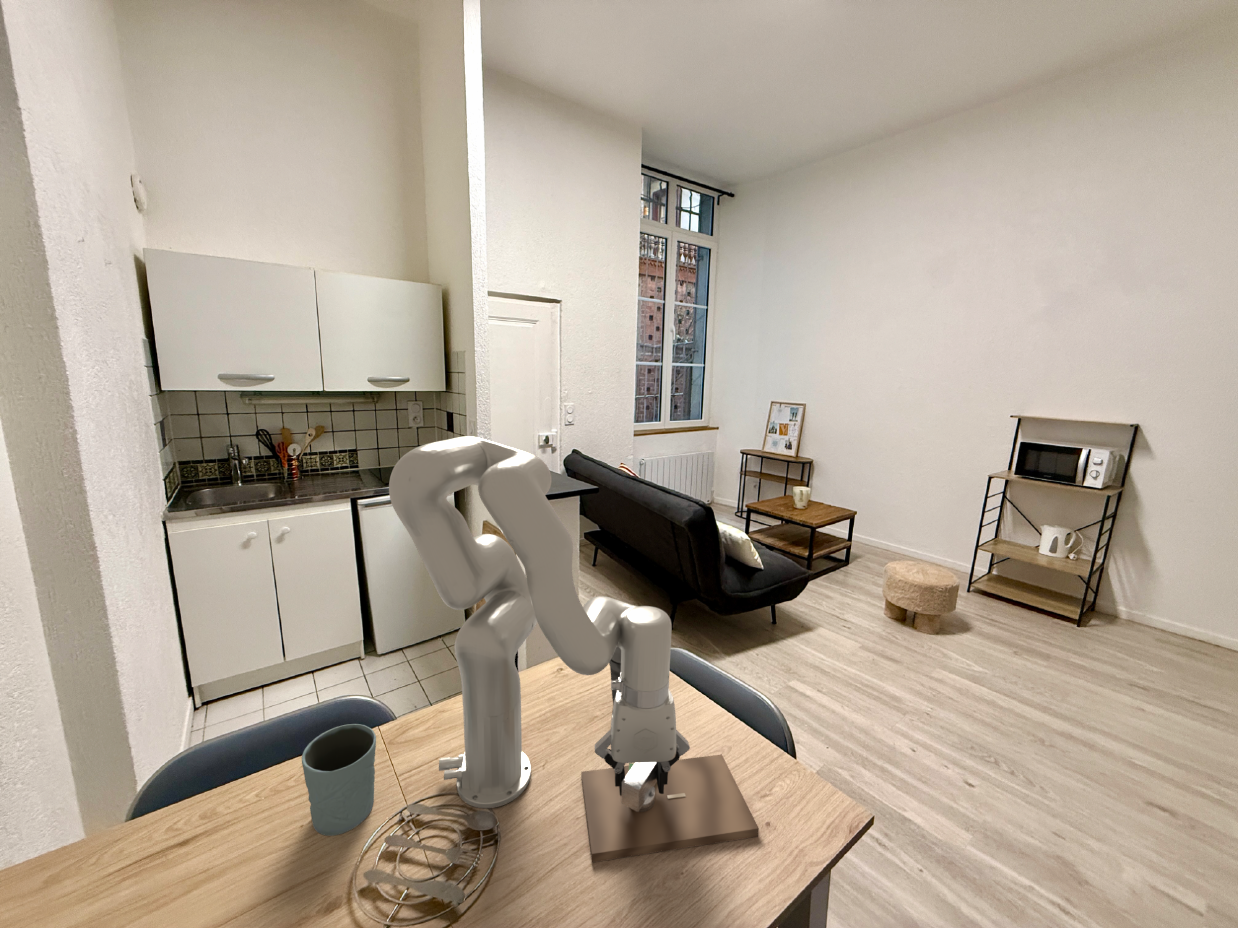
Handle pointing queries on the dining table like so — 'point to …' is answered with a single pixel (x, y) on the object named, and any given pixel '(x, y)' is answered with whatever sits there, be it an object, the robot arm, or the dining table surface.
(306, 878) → the dining table surface
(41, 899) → the dining table surface
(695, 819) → the board
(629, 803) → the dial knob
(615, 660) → the beverage cup
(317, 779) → the blue-grey open cylinder
